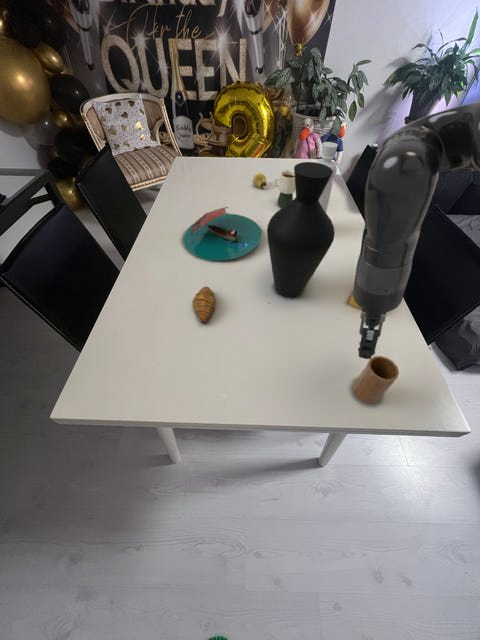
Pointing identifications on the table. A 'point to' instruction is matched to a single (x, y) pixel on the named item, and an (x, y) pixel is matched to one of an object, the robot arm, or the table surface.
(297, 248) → the vase
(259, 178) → the fruit
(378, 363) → the cup
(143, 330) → the table surface
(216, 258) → the boat on round base
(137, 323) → the table surface
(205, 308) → the croissant
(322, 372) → the table surface
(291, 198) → the character mug
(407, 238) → the robot arm
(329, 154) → the bottle
